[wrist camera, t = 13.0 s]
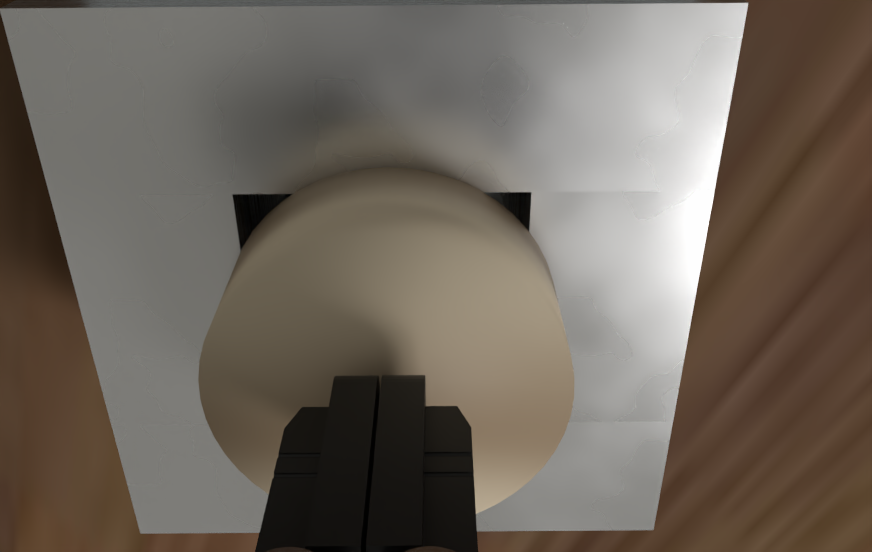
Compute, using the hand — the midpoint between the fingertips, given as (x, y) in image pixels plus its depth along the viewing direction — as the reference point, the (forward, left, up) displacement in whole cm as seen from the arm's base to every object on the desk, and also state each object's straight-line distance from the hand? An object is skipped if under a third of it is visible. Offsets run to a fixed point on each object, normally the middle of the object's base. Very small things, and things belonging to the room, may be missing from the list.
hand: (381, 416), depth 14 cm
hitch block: (0, 0, -10) cm, 10 cm away
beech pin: (0, 0, -9) cm, 8 cm away
